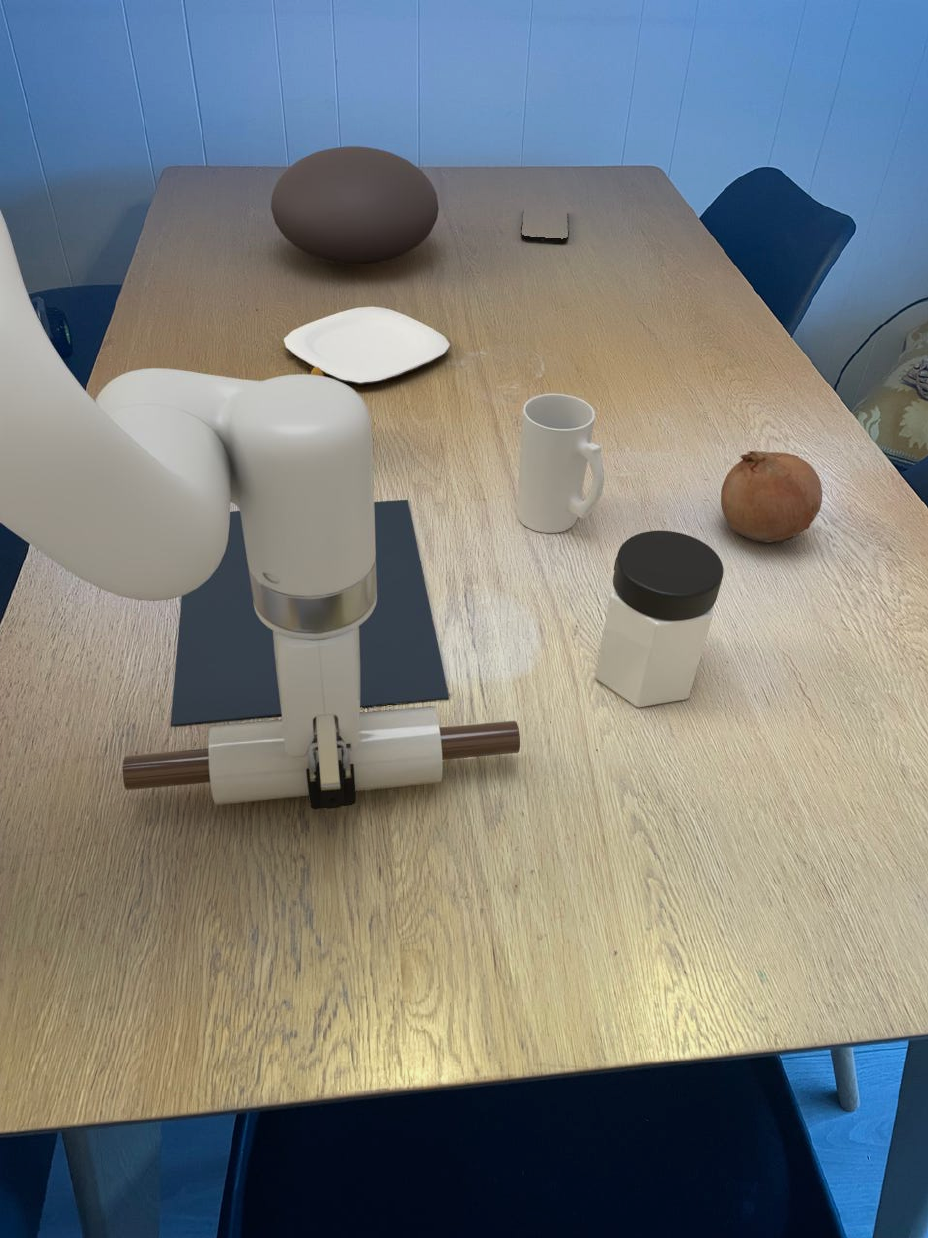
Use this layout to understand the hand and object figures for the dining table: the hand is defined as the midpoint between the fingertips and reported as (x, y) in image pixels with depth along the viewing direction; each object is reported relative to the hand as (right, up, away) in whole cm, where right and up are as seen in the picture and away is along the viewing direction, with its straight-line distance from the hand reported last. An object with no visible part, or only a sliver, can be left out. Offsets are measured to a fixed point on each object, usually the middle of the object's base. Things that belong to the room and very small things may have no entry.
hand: (330, 767), depth 68 cm
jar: (+25, +6, +11) cm, 28 cm away
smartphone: (+23, +77, +88) cm, 119 cm away
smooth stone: (-7, +67, +76) cm, 102 cm away
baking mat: (-5, +13, +16) cm, 21 cm away
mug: (+19, +20, +26) cm, 38 cm away
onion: (+40, +20, +26) cm, 52 cm away
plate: (-3, +45, +52) cm, 69 cm away
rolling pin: (0, -1, +1) cm, 1 cm away
